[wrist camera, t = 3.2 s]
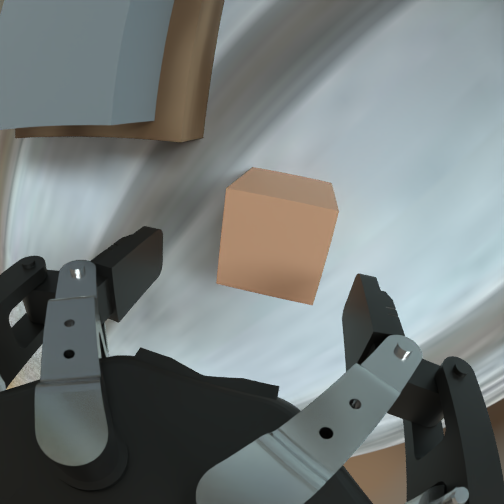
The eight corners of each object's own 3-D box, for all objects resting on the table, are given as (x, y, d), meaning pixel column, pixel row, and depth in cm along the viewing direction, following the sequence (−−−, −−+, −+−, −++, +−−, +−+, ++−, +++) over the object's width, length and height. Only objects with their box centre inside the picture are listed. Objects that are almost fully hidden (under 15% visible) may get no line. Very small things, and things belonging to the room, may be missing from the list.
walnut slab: (245, -75, 10) (230, -103, 7) (205, 136, 18) (180, 142, 15) (79, -39, 12) (51, -48, 9) (47, 130, 20) (15, 138, 17)
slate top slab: (203, -93, 7) (179, -123, 4) (154, 120, 15) (111, 125, 11) (59, -48, 9) (27, -57, 5) (23, 123, 16) (-16, 131, 12)
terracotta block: (331, 182, 18) (338, 211, 12) (314, 254, 20) (312, 305, 15) (252, 167, 18) (226, 188, 13) (242, 238, 20) (216, 283, 15)
